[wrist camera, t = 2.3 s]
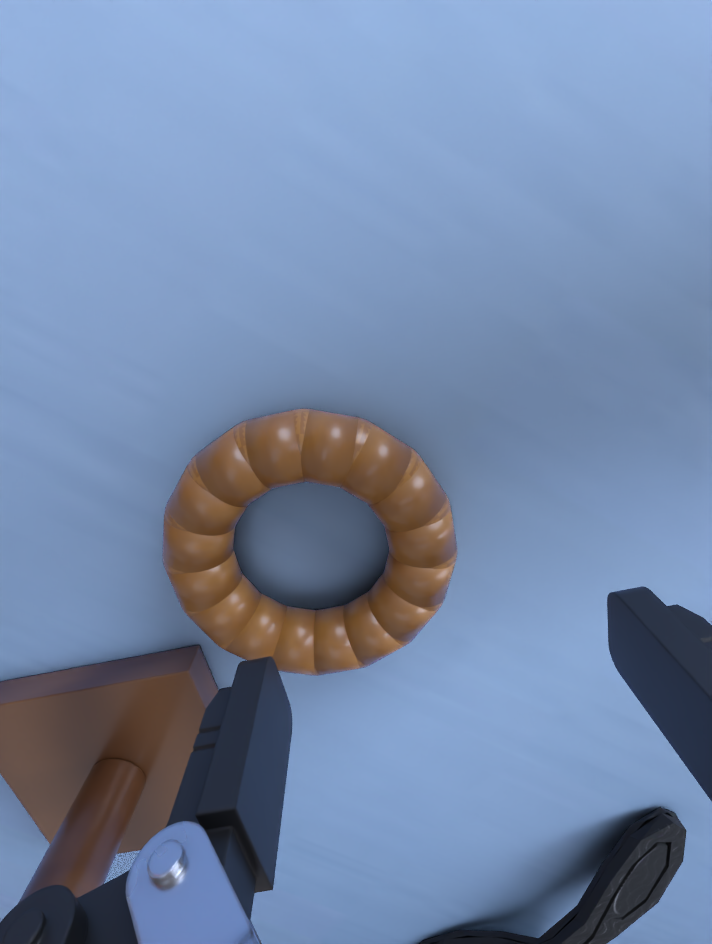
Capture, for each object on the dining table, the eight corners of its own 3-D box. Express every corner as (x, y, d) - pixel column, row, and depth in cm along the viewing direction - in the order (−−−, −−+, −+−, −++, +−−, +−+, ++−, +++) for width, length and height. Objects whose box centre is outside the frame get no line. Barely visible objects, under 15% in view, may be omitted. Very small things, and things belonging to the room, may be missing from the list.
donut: (424, 374, 16) (436, 388, 14) (464, 619, 20) (479, 662, 17) (135, 437, 17) (101, 460, 14) (226, 662, 20) (210, 708, 18)
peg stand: (199, 644, 20) (78, 926, 11) (265, 800, 24) (213, 1108, 15) (-17, 684, 21) (-294, 979, 12) (79, 829, 24) (-79, 1140, 15)
